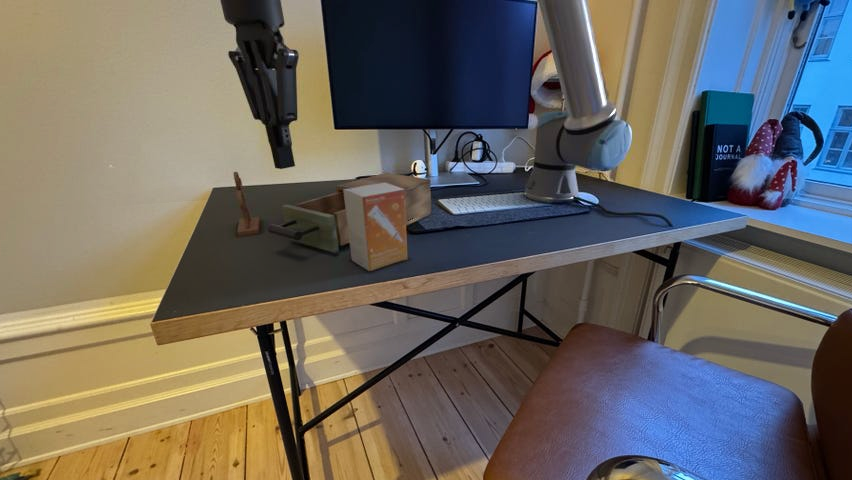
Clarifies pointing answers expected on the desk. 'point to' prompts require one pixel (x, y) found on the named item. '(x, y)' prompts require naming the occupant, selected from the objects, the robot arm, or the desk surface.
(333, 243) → the drawer
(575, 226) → the desk surface
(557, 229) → the desk surface
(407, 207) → the cabinet
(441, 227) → the desk surface
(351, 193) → the small box
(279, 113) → the robot arm
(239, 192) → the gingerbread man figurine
